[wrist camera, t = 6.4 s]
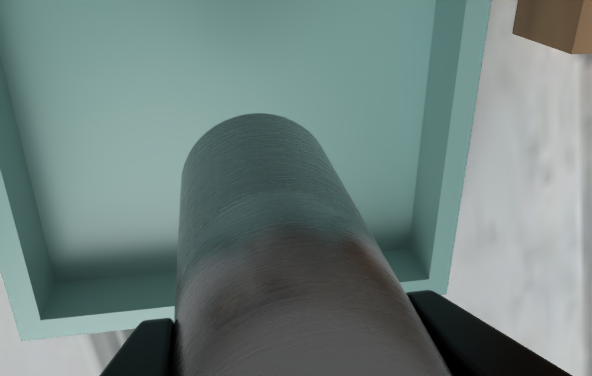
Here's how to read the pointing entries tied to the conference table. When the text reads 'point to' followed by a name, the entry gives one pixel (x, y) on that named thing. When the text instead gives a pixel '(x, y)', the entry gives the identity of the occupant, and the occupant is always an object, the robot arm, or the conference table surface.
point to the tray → (205, 115)
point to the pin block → (556, 24)
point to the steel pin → (284, 266)
